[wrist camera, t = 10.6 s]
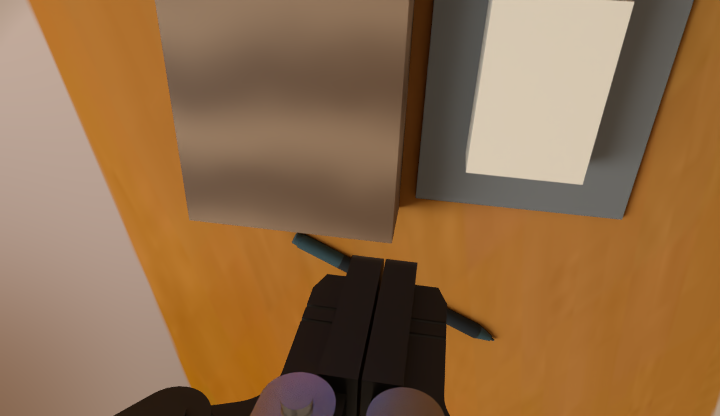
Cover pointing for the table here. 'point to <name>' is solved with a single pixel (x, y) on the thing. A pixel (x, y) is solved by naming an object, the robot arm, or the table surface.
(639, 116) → the mat
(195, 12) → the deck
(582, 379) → the table surface
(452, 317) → the pen
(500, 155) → the cream rectangular block
